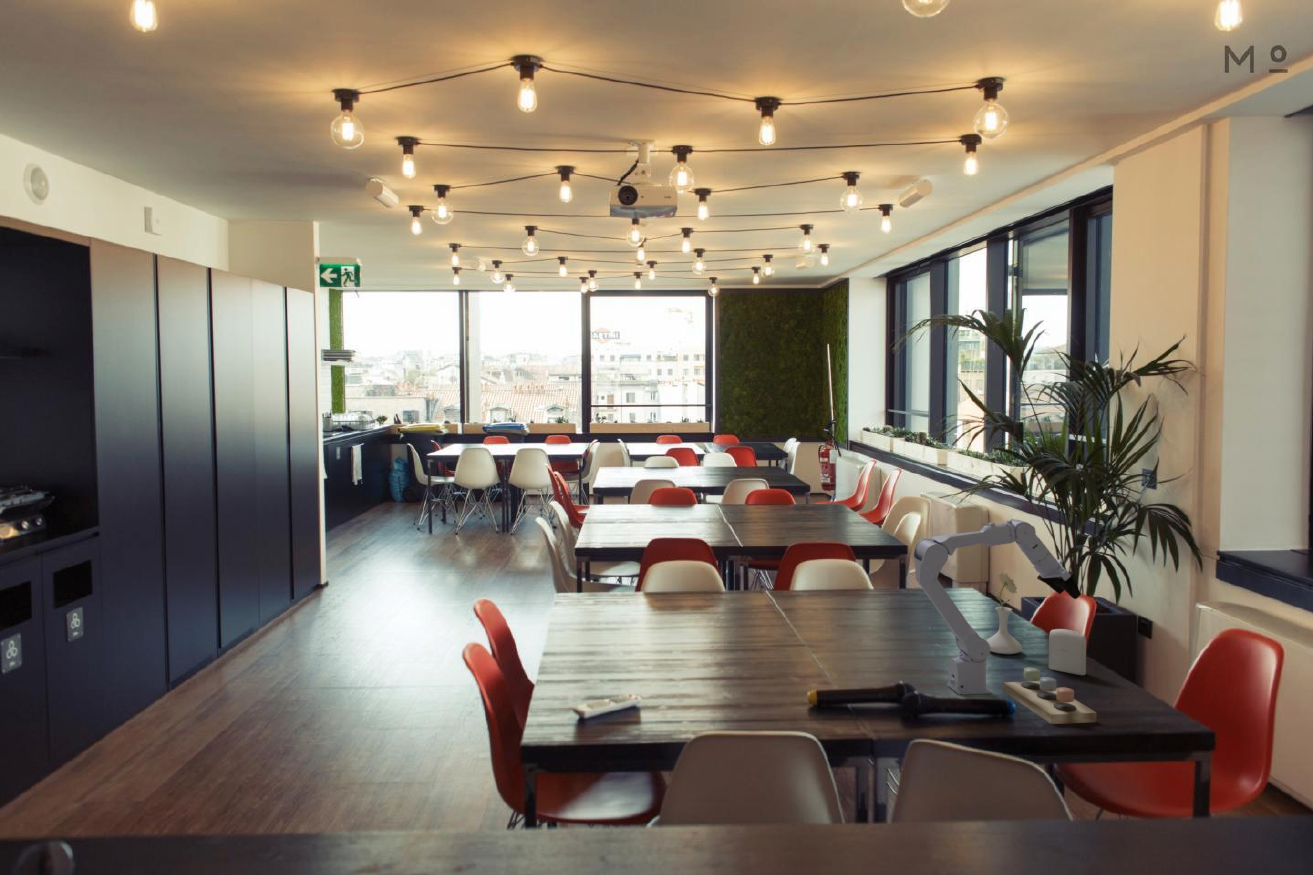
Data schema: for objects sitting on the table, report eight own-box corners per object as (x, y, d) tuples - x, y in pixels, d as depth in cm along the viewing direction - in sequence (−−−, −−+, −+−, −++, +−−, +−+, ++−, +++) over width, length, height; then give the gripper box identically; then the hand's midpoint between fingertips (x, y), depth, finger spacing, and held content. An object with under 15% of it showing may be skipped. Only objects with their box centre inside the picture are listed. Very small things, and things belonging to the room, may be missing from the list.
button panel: (1050, 723, 220) (1051, 712, 220) (1003, 690, 244) (1003, 680, 244) (1096, 722, 221) (1096, 711, 221) (1044, 689, 245) (1044, 679, 245)
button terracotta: (1062, 702, 222) (1062, 692, 222) (1053, 696, 226) (1053, 687, 226) (1077, 701, 223) (1077, 692, 222) (1068, 696, 227) (1068, 687, 226)
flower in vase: (1025, 658, 273) (1027, 578, 272) (986, 656, 275) (988, 576, 274) (1017, 646, 286) (1019, 569, 284) (980, 644, 288) (981, 568, 287)
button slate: (1044, 691, 230) (1045, 682, 230) (1036, 686, 234) (1036, 677, 234) (1059, 690, 231) (1059, 681, 230) (1050, 685, 235) (1051, 676, 234)
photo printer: (1046, 669, 263) (1047, 628, 262) (1051, 665, 266) (1052, 625, 265) (1082, 677, 256) (1084, 634, 255) (1087, 673, 259) (1088, 631, 258)
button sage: (1028, 681, 238) (1028, 672, 238) (1020, 676, 242) (1021, 667, 242) (1042, 680, 239) (1042, 671, 238) (1034, 675, 242) (1035, 667, 242)
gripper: (1065, 550, 236) (1095, 589, 237) (1037, 543, 251) (1065, 580, 252) (1045, 567, 236) (1076, 606, 237) (1018, 559, 250) (1047, 596, 251)
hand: (1069, 594), depth 244 cm, fingers open, 7 cm apart
